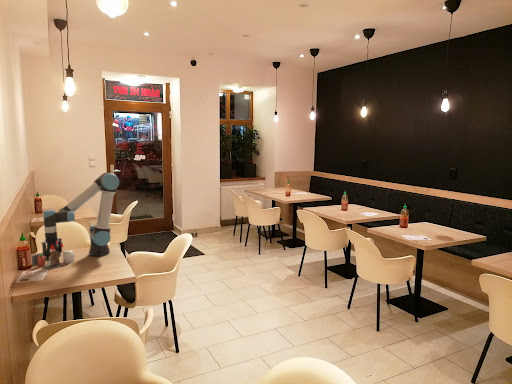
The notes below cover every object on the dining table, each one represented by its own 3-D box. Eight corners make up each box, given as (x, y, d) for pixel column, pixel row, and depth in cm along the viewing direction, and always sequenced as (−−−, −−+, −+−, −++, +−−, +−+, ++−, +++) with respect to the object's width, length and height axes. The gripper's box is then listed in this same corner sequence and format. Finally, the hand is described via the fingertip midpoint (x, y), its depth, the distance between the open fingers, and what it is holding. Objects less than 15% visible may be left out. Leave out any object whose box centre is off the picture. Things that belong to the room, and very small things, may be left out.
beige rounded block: (70, 259, 287) (69, 249, 285) (76, 261, 283) (75, 250, 282) (61, 262, 281) (60, 251, 279) (67, 263, 277) (66, 253, 276)
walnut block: (54, 262, 276) (53, 250, 275) (59, 263, 274) (58, 251, 272) (47, 264, 272) (46, 252, 270) (52, 265, 269) (51, 253, 268)
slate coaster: (56, 262, 280) (56, 261, 280) (65, 264, 275) (65, 264, 275) (41, 266, 271) (41, 266, 271) (51, 269, 265) (50, 268, 265)
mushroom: (67, 254, 299) (66, 239, 298) (53, 258, 290) (52, 243, 289) (59, 252, 305) (58, 238, 303) (45, 256, 296) (44, 241, 294)
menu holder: (43, 261, 283) (42, 252, 282) (45, 262, 281) (44, 253, 280) (32, 264, 276) (31, 255, 275) (34, 265, 275) (33, 256, 274)
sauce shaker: (42, 264, 276) (41, 253, 275) (46, 265, 274) (45, 253, 273) (37, 266, 273) (36, 254, 272) (40, 267, 271) (39, 255, 270)
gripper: (60, 228, 279) (62, 259, 282) (34, 234, 263) (37, 266, 267) (66, 229, 275) (68, 260, 279) (41, 235, 260) (43, 268, 263)
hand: (53, 263), depth 273 cm, fingers closed on walnut block, 6 cm apart
